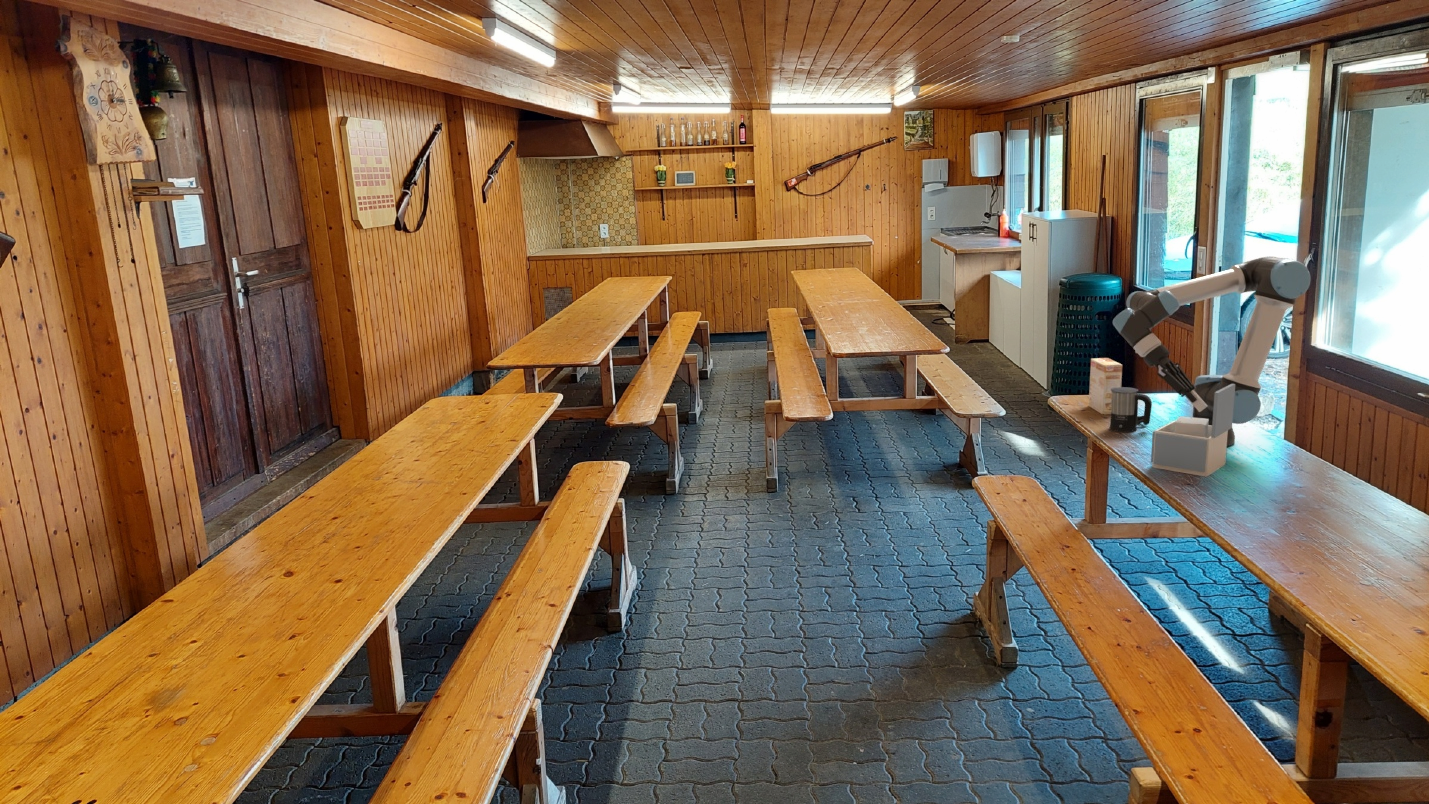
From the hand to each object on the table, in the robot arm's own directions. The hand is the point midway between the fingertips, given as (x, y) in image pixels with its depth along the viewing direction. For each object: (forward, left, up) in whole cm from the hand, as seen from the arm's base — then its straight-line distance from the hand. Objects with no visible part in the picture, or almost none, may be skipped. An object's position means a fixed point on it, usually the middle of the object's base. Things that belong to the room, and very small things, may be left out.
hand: (1203, 409), depth 305 cm
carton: (0, -3, -19) cm, 19 cm away
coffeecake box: (-56, -55, -19) cm, 81 cm away
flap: (0, +6, -7) cm, 9 cm away
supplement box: (0, -3, -19) cm, 20 cm away
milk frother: (-36, -37, -19) cm, 55 cm away
